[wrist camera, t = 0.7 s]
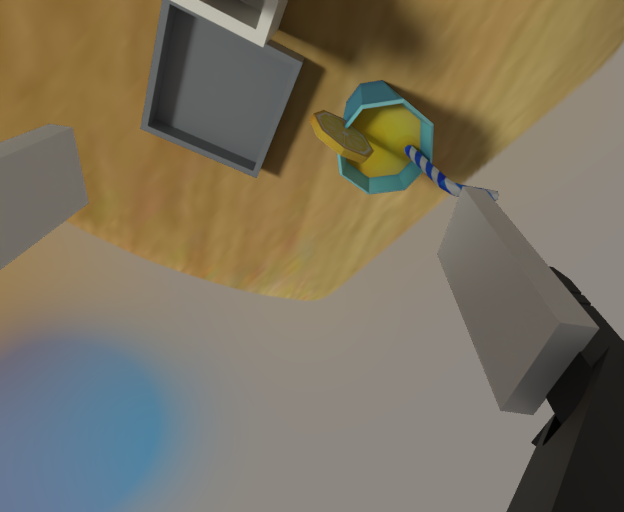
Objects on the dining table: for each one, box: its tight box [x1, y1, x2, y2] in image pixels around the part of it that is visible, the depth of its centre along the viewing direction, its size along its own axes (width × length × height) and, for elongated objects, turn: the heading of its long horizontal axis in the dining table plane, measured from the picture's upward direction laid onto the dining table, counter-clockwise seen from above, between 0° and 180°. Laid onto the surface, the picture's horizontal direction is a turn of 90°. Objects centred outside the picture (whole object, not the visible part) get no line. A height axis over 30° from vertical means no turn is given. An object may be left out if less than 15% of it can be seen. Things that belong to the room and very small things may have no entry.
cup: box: [309, 80, 499, 201], centre depth 31 cm, size 14×8×15 cm, turn 77°
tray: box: [140, 0, 304, 178], centre depth 35 cm, size 12×12×2 cm
